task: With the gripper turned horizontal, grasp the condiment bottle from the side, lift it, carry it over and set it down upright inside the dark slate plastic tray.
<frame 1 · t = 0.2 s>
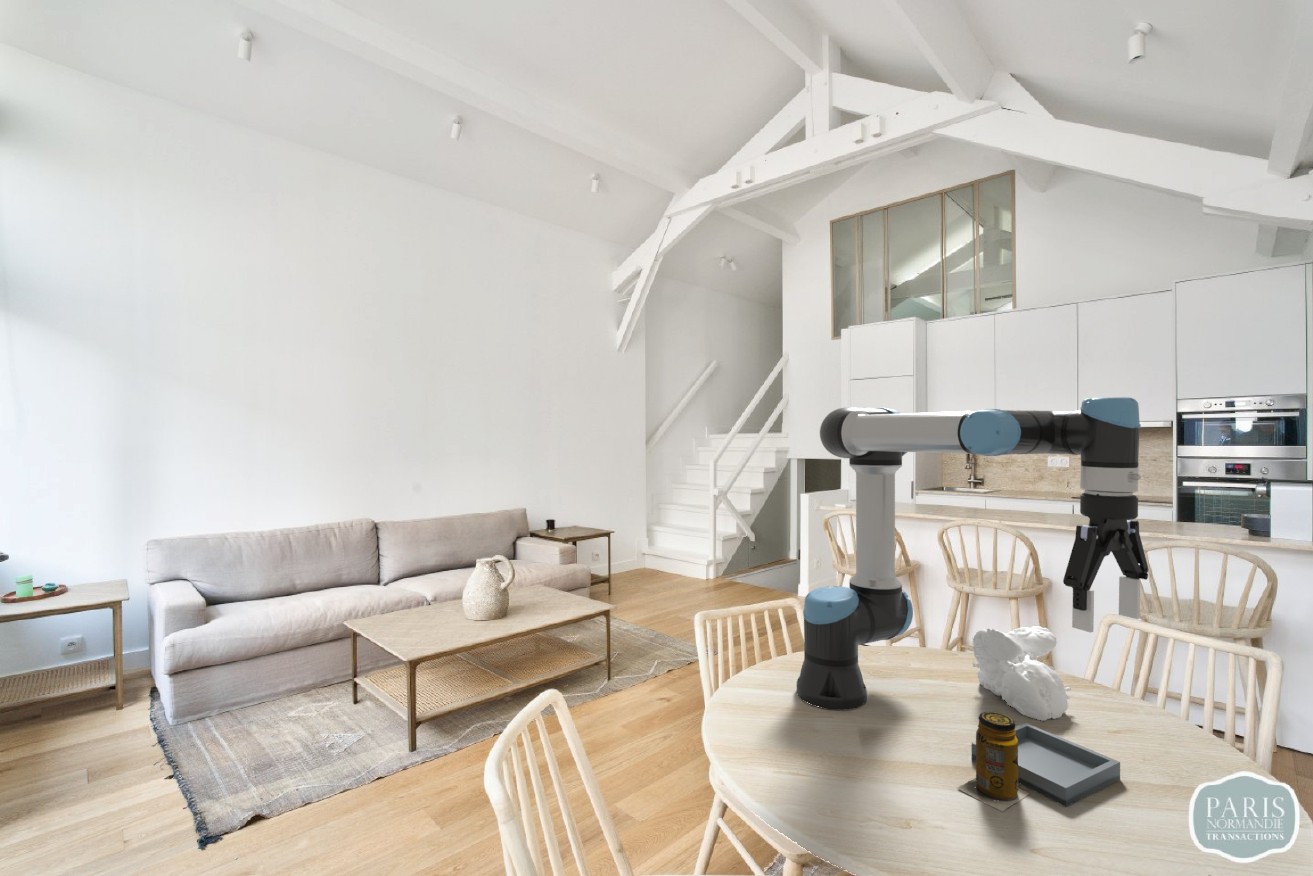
hand: (1106, 623, 99), 28 cm above the table, tool pointing down, fingers open, 13 cm apart
tray: (1043, 769, 106), on the table
white lumpy sculpture: (1019, 700, 134), on the table
condiment: (993, 793, 99), on the table
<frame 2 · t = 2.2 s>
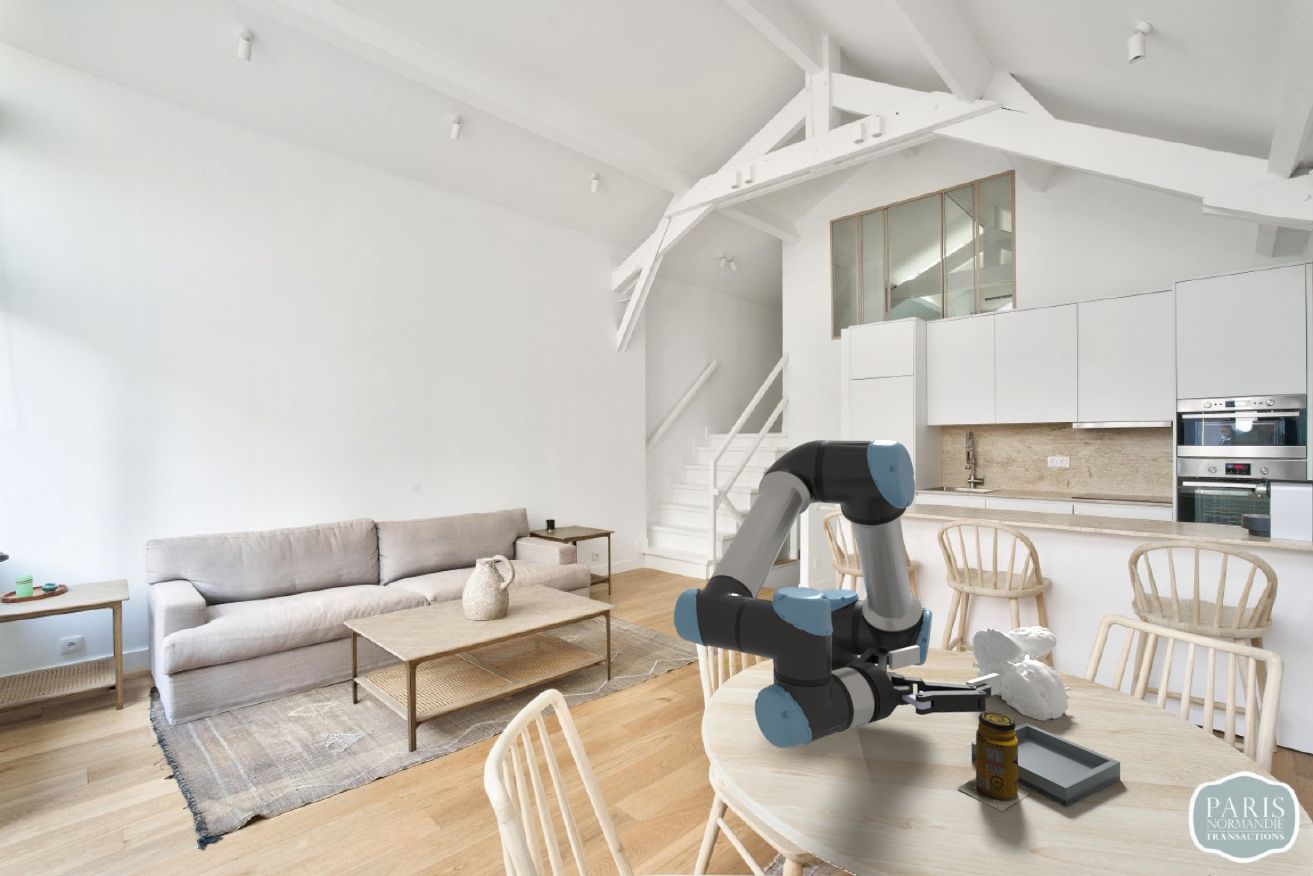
hand: (955, 667, 95), 22 cm above the table, tool horizontal, fingers open, 13 cm apart
nothing on the table moved.
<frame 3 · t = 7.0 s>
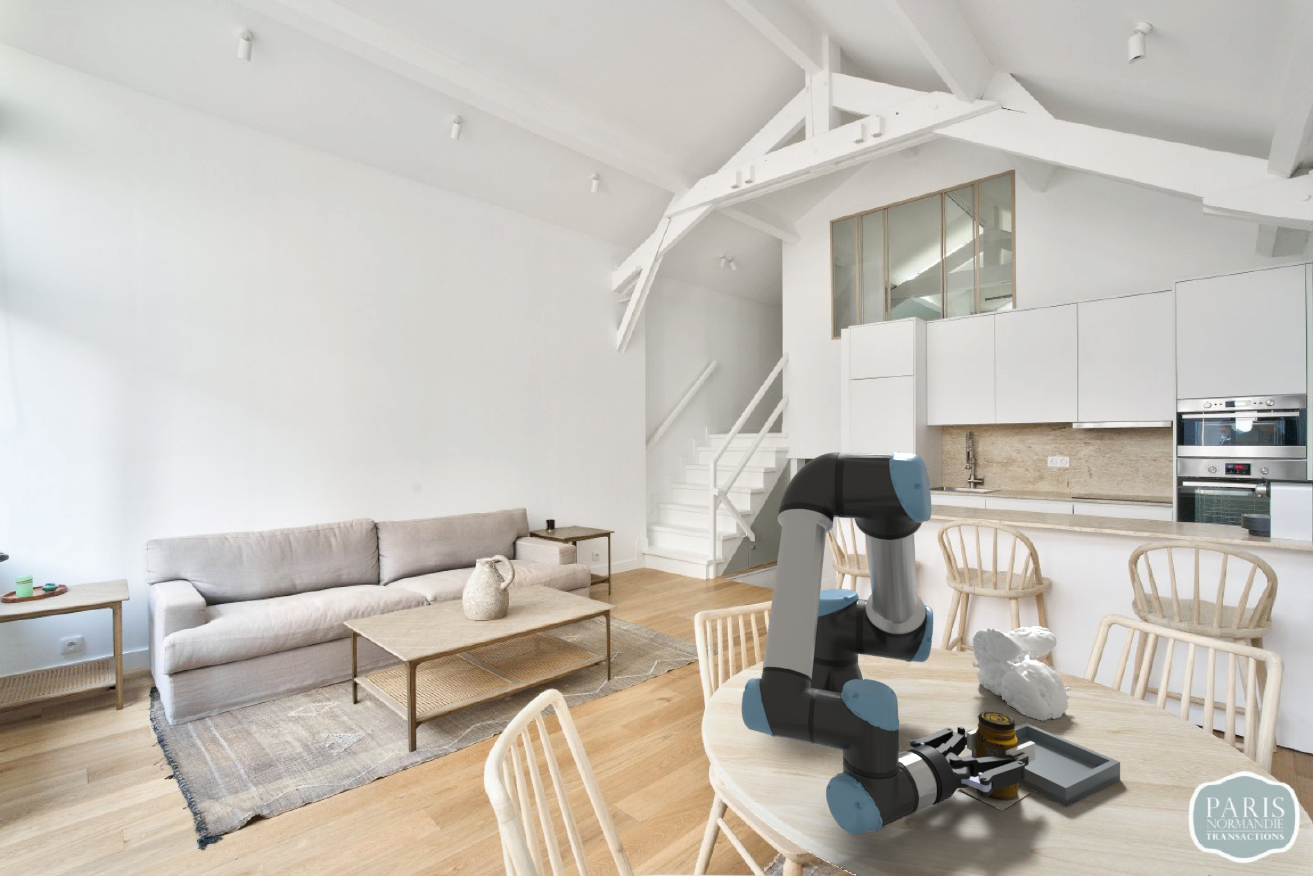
hand: (1012, 741, 102), 7 cm above the table, tool horizontal, fingers closed on condiment, 6 cm apart
condiment: (993, 792, 99), on the table, touching gripper
everything else where it was.
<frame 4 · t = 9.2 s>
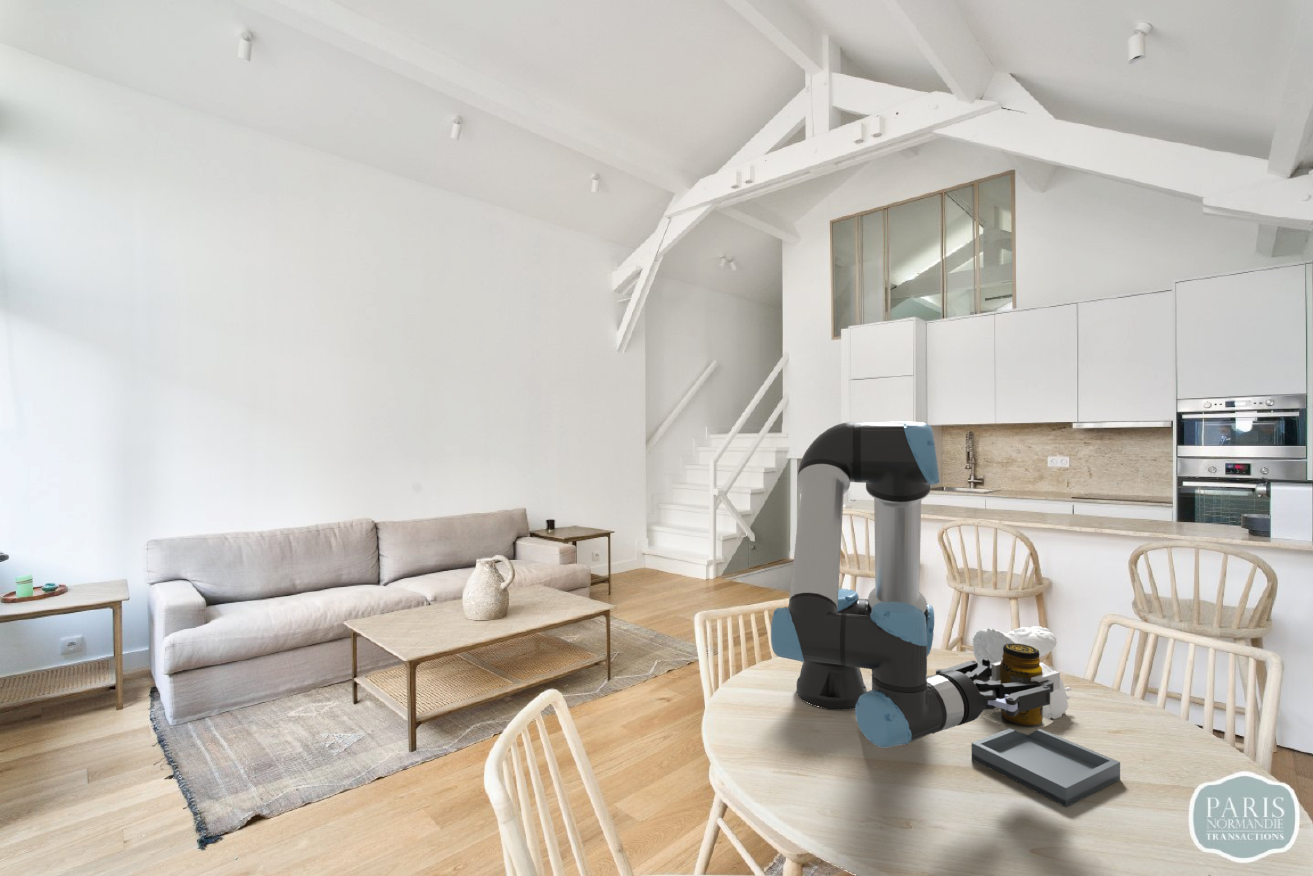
hand: (1036, 672, 104), 18 cm above the table, tool horizontal, fingers closed on condiment, 6 cm apart
condiment: (1017, 721, 101), point 11 cm above the table, touching gripper
everything else where it was.
when the fingers open (9 cm above the table, at t = 11.7 s): condiment drops 1 cm, resting on tray.
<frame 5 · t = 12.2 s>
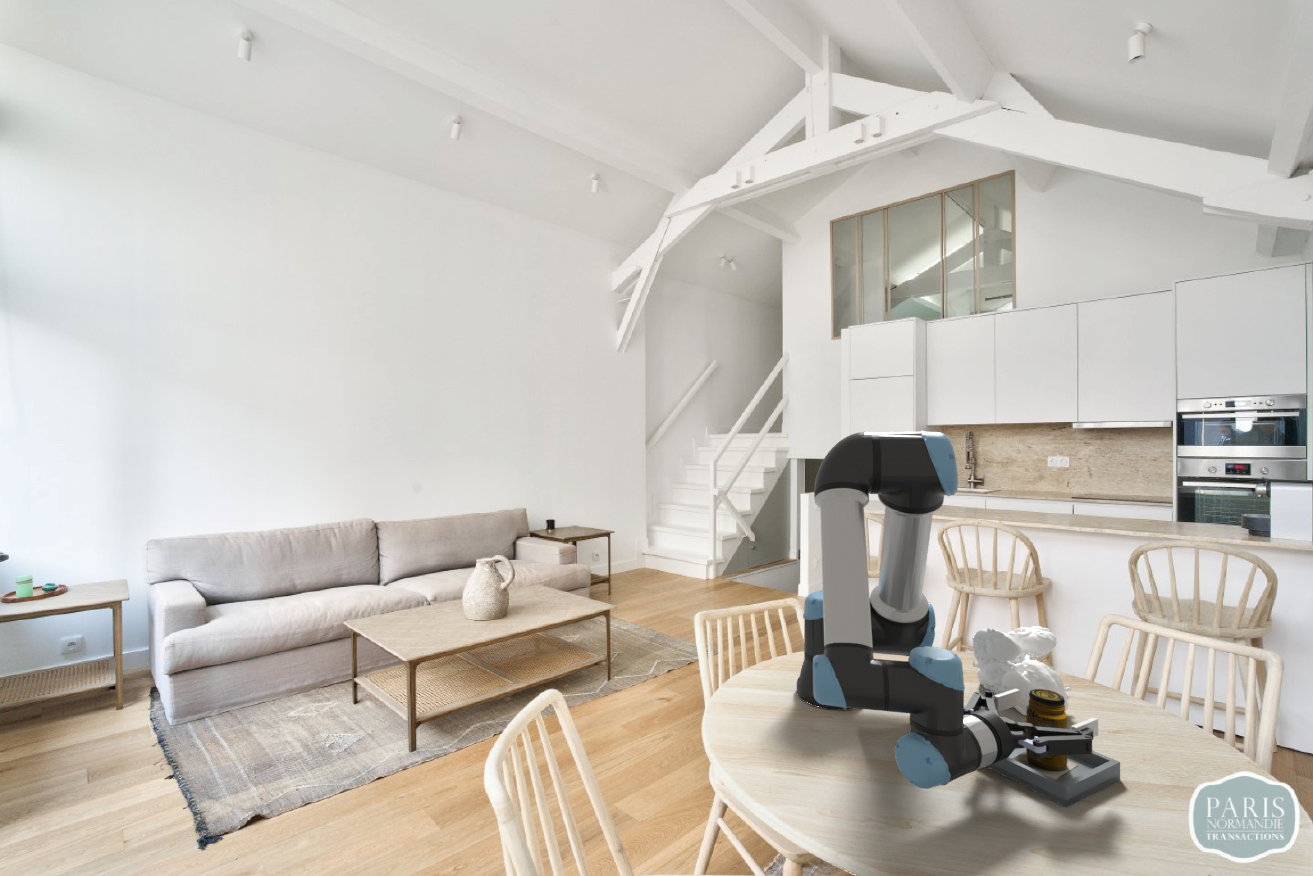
hand: (1054, 710, 108), 9 cm above the table, tool horizontal, fingers open, 12 cm apart
condiment: (1043, 764, 106), point 1 cm above the table, touching tray
everything else where it was.
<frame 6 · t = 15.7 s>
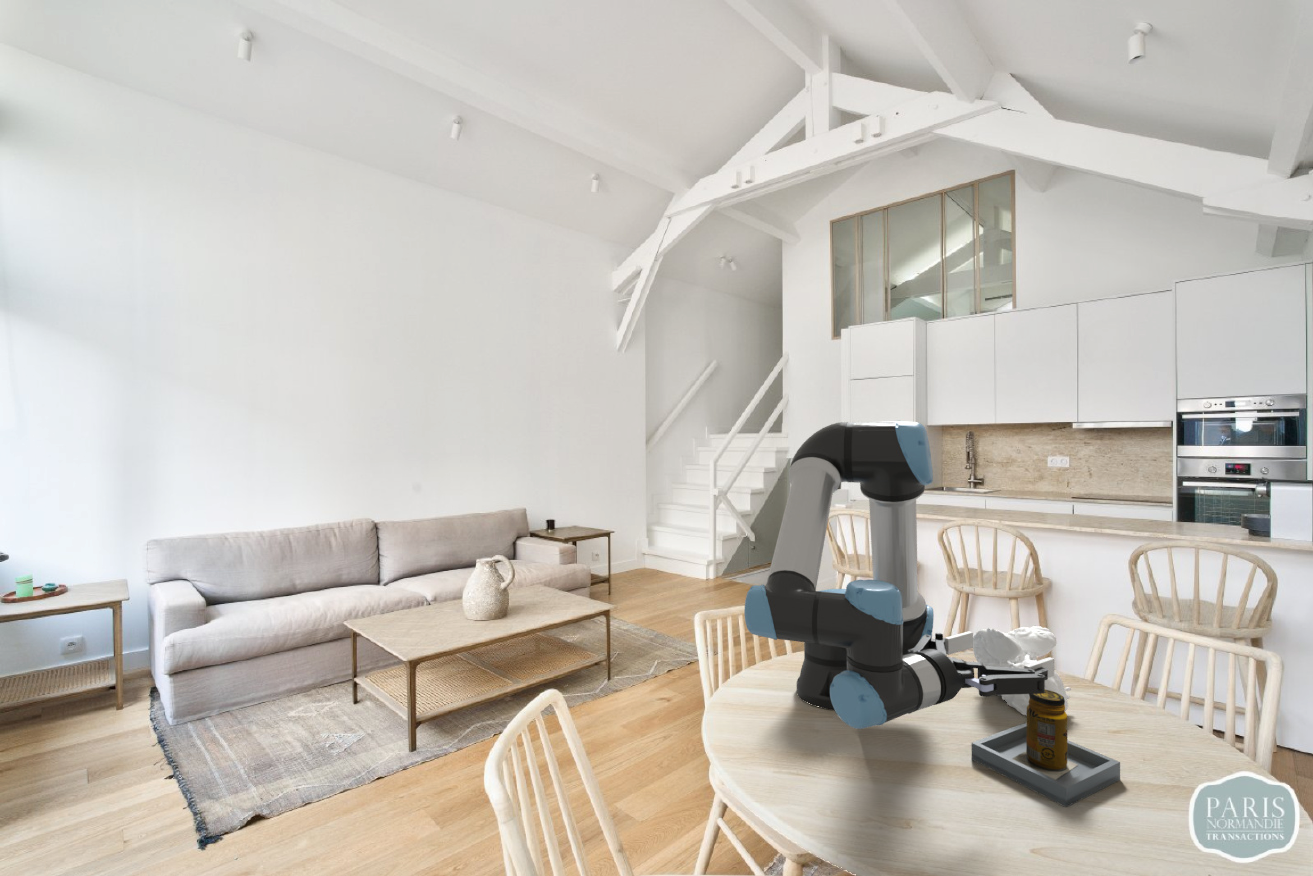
hand: (1009, 652, 101), 22 cm above the table, tool horizontal, fingers open, 13 cm apart
nothing on the table moved.
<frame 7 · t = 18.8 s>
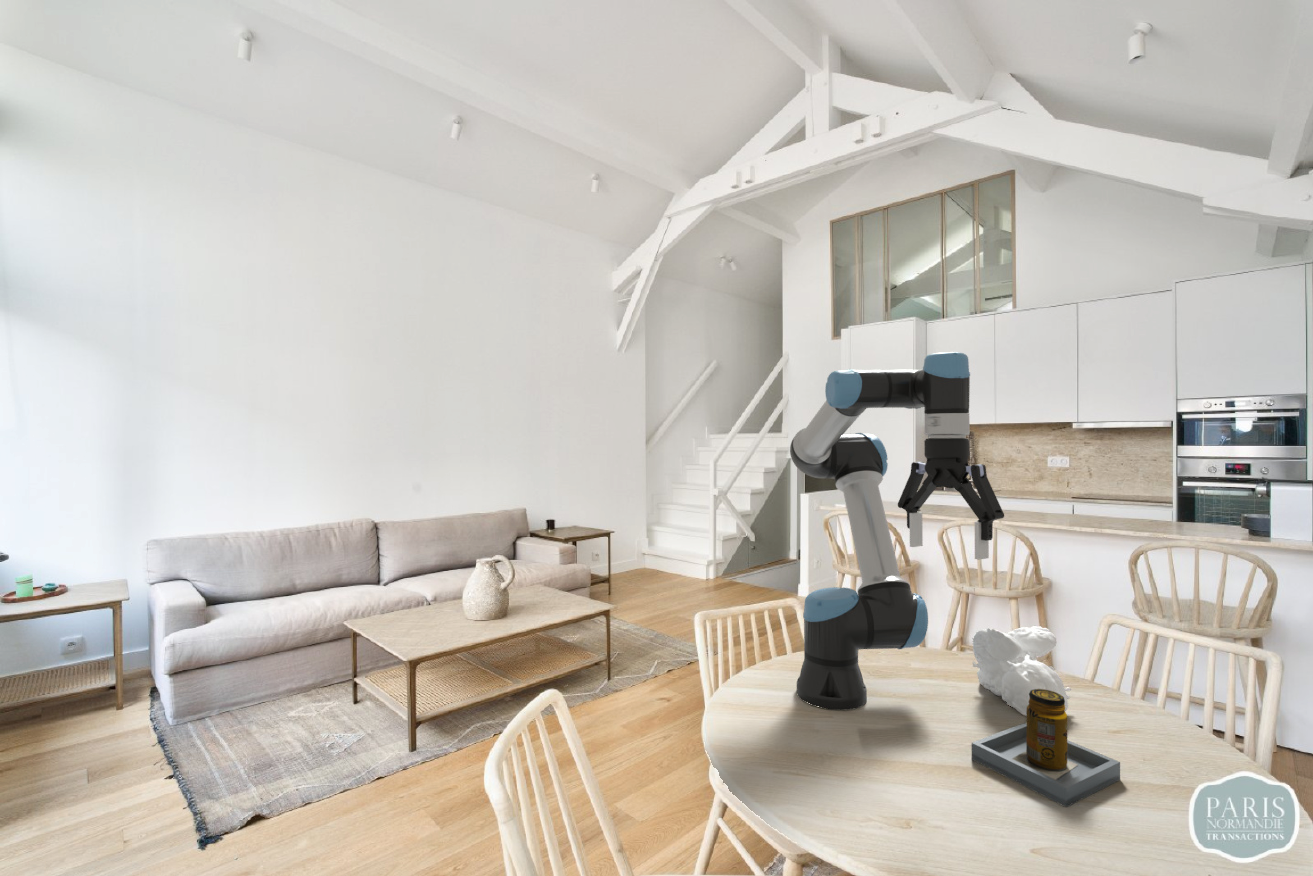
hand: (947, 552, 112), 37 cm above the table, tool pointing down, fingers open, 13 cm apart
nothing on the table moved.
at the end: condiment inside the target area on the tray (0.0 cm from its centre), point 0.8 cm above the tray's base; condiment tilted 0°; the gripper is holding nothing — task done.
